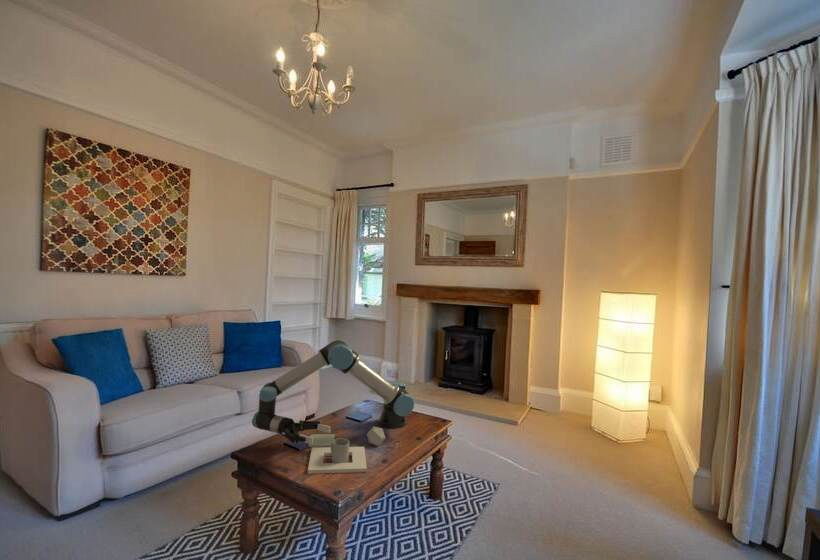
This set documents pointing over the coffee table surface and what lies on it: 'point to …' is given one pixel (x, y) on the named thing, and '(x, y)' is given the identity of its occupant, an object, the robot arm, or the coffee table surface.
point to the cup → (340, 450)
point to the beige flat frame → (320, 467)
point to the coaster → (322, 440)
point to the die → (376, 436)
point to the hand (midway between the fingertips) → (321, 435)
